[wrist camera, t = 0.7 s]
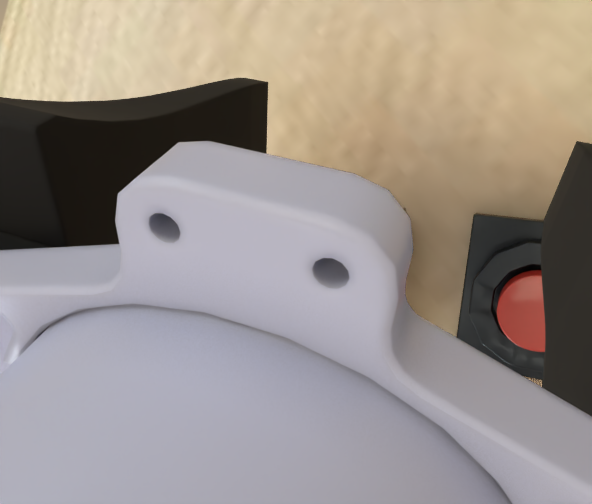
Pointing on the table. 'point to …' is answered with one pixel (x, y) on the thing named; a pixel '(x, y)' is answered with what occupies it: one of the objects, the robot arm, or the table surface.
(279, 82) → the table surface
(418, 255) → the table surface
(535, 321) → the release button
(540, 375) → the black button base
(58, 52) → the table surface
